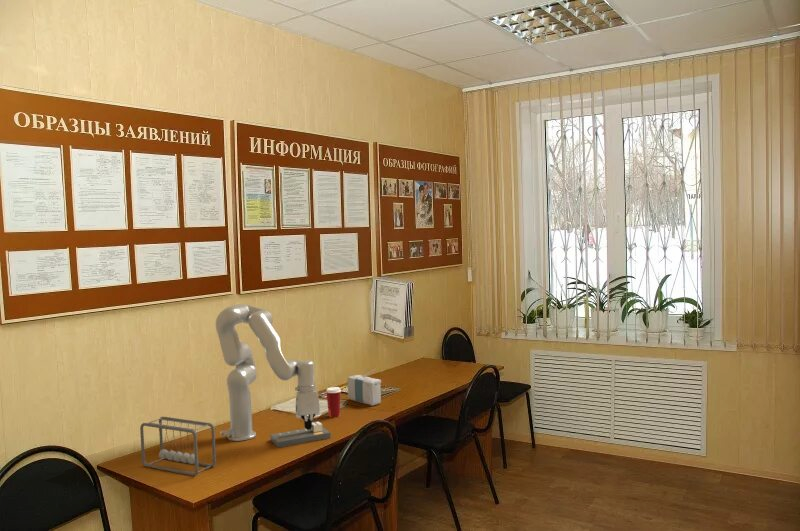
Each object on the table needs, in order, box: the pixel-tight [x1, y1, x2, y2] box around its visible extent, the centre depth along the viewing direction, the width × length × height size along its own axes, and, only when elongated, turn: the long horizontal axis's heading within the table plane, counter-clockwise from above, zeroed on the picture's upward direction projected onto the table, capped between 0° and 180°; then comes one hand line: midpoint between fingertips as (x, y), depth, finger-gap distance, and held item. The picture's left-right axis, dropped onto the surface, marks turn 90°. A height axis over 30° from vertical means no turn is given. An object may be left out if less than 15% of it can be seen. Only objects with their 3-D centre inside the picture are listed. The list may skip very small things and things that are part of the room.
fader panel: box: [269, 426, 331, 449], centre depth 273 cm, size 24×12×3 cm, turn 117°
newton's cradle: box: [139, 416, 217, 477], centre depth 244 cm, size 30×10×18 cm, turn 63°
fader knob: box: [311, 421, 323, 432], centre depth 277 cm, size 4×5×3 cm
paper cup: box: [325, 386, 342, 418], centre depth 308 cm, size 8×8×14 cm
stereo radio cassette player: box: [347, 366, 382, 407], centre depth 333 cm, size 21×8×20 cm, turn 42°
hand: (308, 428), depth 275 cm, fingers closed
